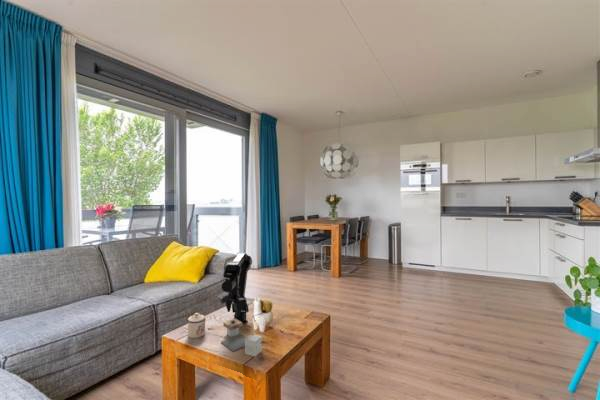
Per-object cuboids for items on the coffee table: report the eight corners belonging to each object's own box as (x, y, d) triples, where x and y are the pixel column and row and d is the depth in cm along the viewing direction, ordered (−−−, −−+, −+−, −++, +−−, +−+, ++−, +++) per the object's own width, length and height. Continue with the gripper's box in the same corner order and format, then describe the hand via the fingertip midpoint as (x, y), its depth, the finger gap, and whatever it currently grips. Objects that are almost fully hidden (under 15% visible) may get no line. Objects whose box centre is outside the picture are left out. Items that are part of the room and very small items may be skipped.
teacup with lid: (198, 339, 154) (198, 317, 153) (183, 337, 156) (183, 315, 156) (211, 329, 165) (211, 309, 165) (198, 327, 168) (198, 307, 168)
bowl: (235, 329, 165) (235, 322, 165) (241, 333, 161) (241, 326, 161) (224, 333, 161) (224, 325, 161) (230, 337, 156) (230, 329, 156)
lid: (235, 321, 166) (235, 316, 166) (242, 326, 161) (242, 320, 161) (223, 325, 161) (223, 320, 161) (230, 330, 155) (230, 324, 155)
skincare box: (255, 357, 137) (255, 341, 137) (244, 354, 140) (244, 338, 140) (262, 350, 143) (262, 335, 143) (251, 348, 145) (251, 333, 145)
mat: (241, 335, 159) (241, 334, 159) (253, 343, 150) (253, 342, 150) (220, 342, 150) (220, 341, 150) (233, 352, 142) (233, 350, 142)
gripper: (211, 285, 162) (211, 313, 162) (228, 293, 148) (228, 324, 148) (229, 281, 169) (229, 307, 170) (247, 288, 156) (247, 317, 156)
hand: (233, 314), depth 161 cm, fingers open, 9 cm apart
